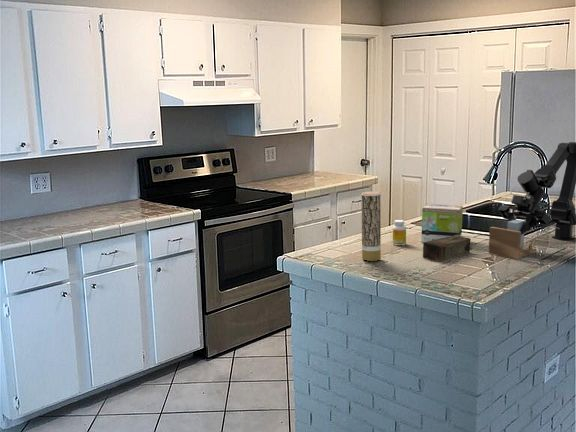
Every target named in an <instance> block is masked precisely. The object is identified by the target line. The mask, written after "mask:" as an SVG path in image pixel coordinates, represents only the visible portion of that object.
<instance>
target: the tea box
mask: <svg viewBox="0 0 576 432" xmlns="http://www.w3.org/2000/svg"><path fill="white" fill-rule="evenodd" d="M463 206H464V205H456V204H438V203H437V204H436V203H435V204H434V203H426V204H425V205H424V206H423V207H422V210H421V243H424V242H427V241H431V240H436V239H440V238H444V237H450V236H454V235H459V236H462V237H463V235H462V233H463V209H464V208H463Z"/></svg>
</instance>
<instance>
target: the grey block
mask: <svg viewBox="0 0 576 432" xmlns="http://www.w3.org/2000/svg"><path fill="white" fill-rule="evenodd" d="M525 221H526V220H521V219H516V220H512V221H509V222H508V221H507V225H508V227H507V226H506V229H509V230H514V231H520V230H521V228H522V226H523V224H524V223H525ZM524 240H525V233H523V234H522V235H521V245H520V247H523V250H525V248H524V246H525V245H524V244H525V241H524Z"/></svg>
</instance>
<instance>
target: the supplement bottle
mask: <svg viewBox="0 0 576 432" xmlns="http://www.w3.org/2000/svg"><path fill="white" fill-rule="evenodd" d="M393 221H394V222H393V224H394V225H393V226H392V245H393V244H395V245H394V246H396V245H402V246H405V245H404V244H407V226H405V220H402V219H395V220H393Z"/></svg>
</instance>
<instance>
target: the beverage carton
mask: <svg viewBox="0 0 576 432" xmlns="http://www.w3.org/2000/svg"><path fill="white" fill-rule="evenodd" d="M422 243H423V245H422V258H423V259H426V258H427V259H426V260H430V261H433V260H434V262H441V261H445V260H449V259H452V258H456V257H457V258H458V257H460V256H463V255H467V254H470V253H471V238H470V237H466V236H463V235H462V236H459V235H454V236H450V237H444V238H440V239H436V240H431V241H427V242H422Z"/></svg>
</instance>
